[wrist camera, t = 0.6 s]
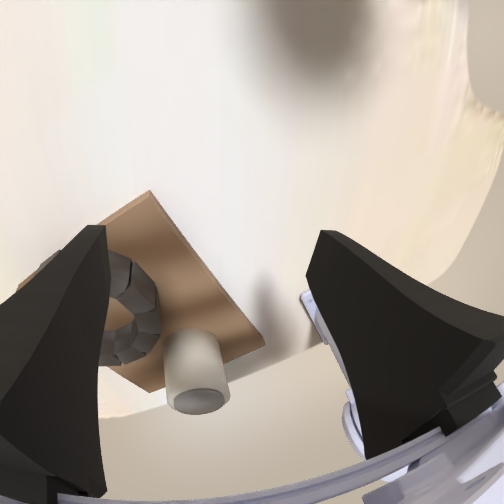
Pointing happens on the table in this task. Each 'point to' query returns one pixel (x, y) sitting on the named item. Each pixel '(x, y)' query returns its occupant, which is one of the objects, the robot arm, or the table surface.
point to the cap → (194, 372)
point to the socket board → (160, 295)
